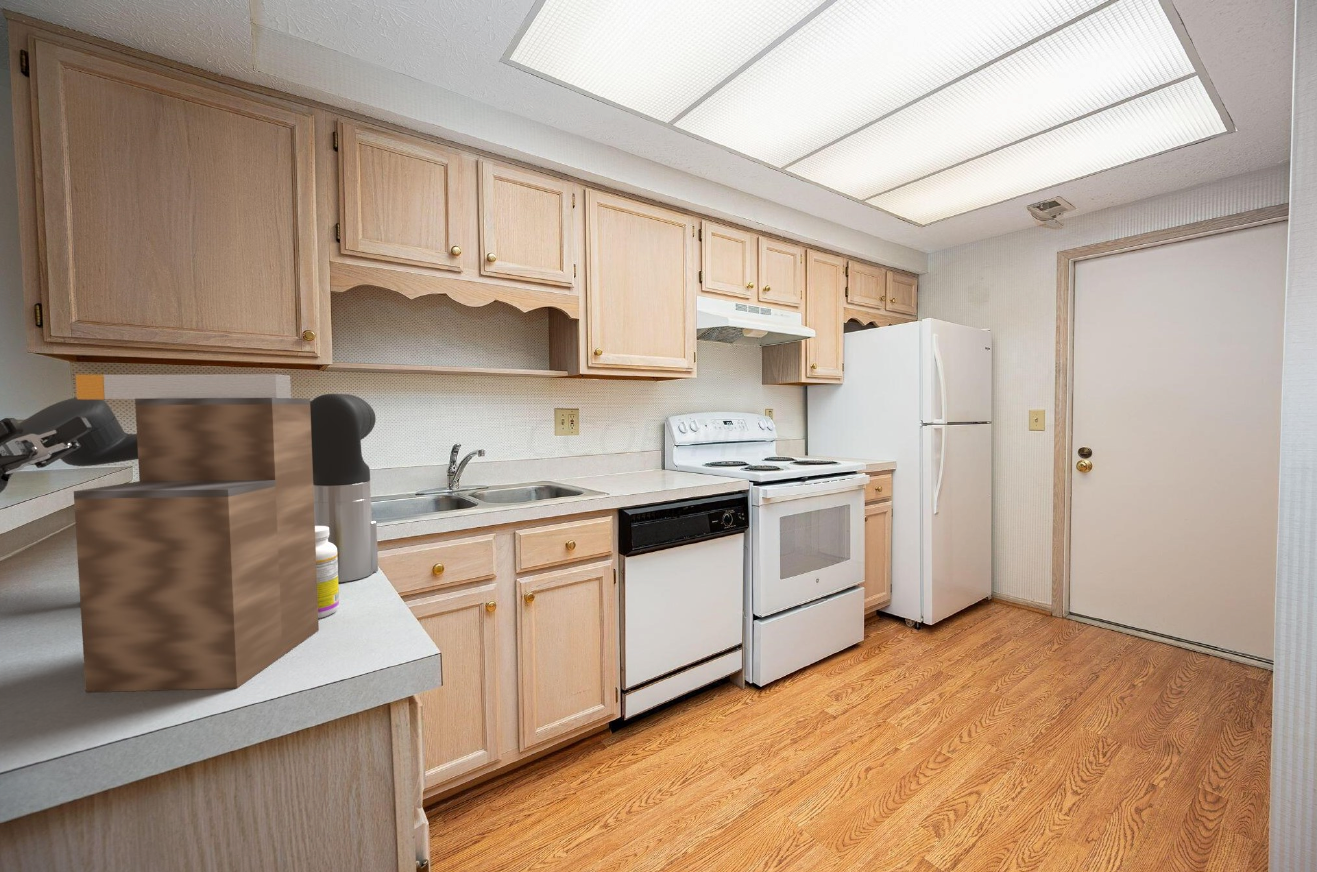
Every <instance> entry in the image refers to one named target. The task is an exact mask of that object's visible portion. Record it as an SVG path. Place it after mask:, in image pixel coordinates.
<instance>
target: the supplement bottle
mask: <svg viewBox="0 0 1317 872" xmlns="http://www.w3.org/2000/svg"><path fill="white" fill-rule="evenodd" d="M329 535H330V534H329V527H327V526H315V544H316V570H317V596H318V620H319V619H323V618H326V617H328V616H331V615H332V614H334V613H335V612H337V611H338V610H339V607H340V592H339V582H338V557H337V548H336V546H335V545H334V544H332V543H330V542H328V537H329Z"/></svg>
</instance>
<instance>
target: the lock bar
mask: <svg viewBox="0 0 1317 872" xmlns="http://www.w3.org/2000/svg"><path fill="white" fill-rule="evenodd" d="M75 384H76V386H75V387H76V388H75V389H76V397H77V399H90V400H104V401H105V400H107V401H109V400H111V401H112V400H115V401H116V400H119V401H120V400H122V401H123V400H135V399H136V398H292V392H291V391H292V390H291V388H292V384H291V375H289V374H276V373H270V374H269V373H266V374H265V373H258V374H257V373H249V374H248V373H247V374H246V373H245V374H244V373H243V374H241V373H237V374H234V373H233V374H230V373H229V374H228V373H227V374H225V373H224V374H223V373H221V374H220V373H219V374H217V373H216V374H213V373H212V374H200V373H199V374H198V373H197V374H196V373H195V374H189V373H187V374H182V373H181V374H75Z"/></svg>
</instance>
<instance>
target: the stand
mask: <svg viewBox="0 0 1317 872" xmlns="http://www.w3.org/2000/svg"><path fill="white" fill-rule="evenodd" d="M310 401H311V398H298V397H297V398H296V397H294V398H293V397H291V398H136V399H134V404H135V407H134V409H135V422H136V423H135V424H136V434H137V445H138V459H137V460H138V477H139V479H138V480H139V481H134V482H133V481H132V482H126V483H120V484H119V483H118V484H114V485H108V486H107V485H106V486H100V487H93V488H87V489H79V490H73V502H74V503H73V505H74V517H75V518H74V519H75V534H76V535H75V536H76V550H77V570H78V571H77V572H78V585H79V588H78V589H79V601H80V602H79V603H80V619H81V621H80V622H81V633H82V634H81V636H82V651H83V654H82V655H83V666H84V667H83V668H84V684H85V685H84V686H85V693H98V692H99V693H100V692H101V693H103V692H105V693H106V692H135V691H136V692H138V691H139V692H142V691H144V692H145V691H177V690H179V691H181V690H218V689H219V690H220V689H222V690H223V689H238V688H240V687H241V686H242V685H244V684H246V682H249V680H251V679H252V678H254V677H255V676H256V675H258V674H259V673H261V672H262V671H263V670H265V669H266V668H268V667H269V666H271V665H272V664H274V663H275V662H277V661H278V660H279V659H280V658H282V657H283V656H285V655H287V654H288V653H289V652H291V651H292V650H294V649H295V648H297V647H298V646H300V644H302V643H304V641H306V640H308V639H309V638H310V637H313V635H314V634H316V633H318V632H319V630H320V629H319V628H320V627H319V624H320V623H319V619H318V596H317V570H316V544H315V518H314V491H313V465H312V439H311V412H310Z"/></svg>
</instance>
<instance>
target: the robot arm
mask: <svg viewBox="0 0 1317 872" xmlns="http://www.w3.org/2000/svg"><path fill="white" fill-rule="evenodd" d="M310 412H311V439H312V465H313V491H314V518H315V526H327V527H329V534H330V535H329V537H328V542H330V543H332V544H334V545H335V546H336V548H337V557H338V583H345V582H351V581H355V580H360V579H364V578H366V577H368V576H370V575H372V574H374V573H375V572H378V571H379V558H378V557H379V556H378V553H379V552H378V530H377V528H378V526H377V521H376V520H373V518H372V497H371V495H372V493H371V469H370V467H369V465H368V464H367V463H366V462H365V460H364V457H363V454H362V443H361V442H362V440H363V439H365V438H366V437H367V436H369V435H370V433H371V432H372V431H373V429H374V428H375V425H376V422H377V421H376V420H377V419H376V414H375V411H374V408H373V407H372V406H371V405H370V404H369V403H368V402H367V401H366V400H364V399H362V398H361V397H359V396H356V395H354V394H353V395H352V394H347V393H346V394H345V393H324V394H322V395H319V396H316V397H314V399H312V400H310ZM58 460H61V461H62V462H63V463H65V464H67V465H69V466H73V467H74V466H75V467H91V466H92V467H93V466H101V465H107V464H108V465H109V464H115V463H121V462H128V461H136V460H138V445H137V433H128V432H125V431H124V429H123V427H122V425H121V424H120V422H119V420H118V419H117V417H116V415H115V413H114V412H113V410H112V409H111V407H110V406H109V404H108V402H107V401H105V400H90V399H77V396H76V397H72V398H68V399H64V400H61V401H58V402H56V403H54V404H51V405H49V406H47V407H45V408H43V409H41V410H39V411H38V412H36V413H34V414H33V415H31V416H29V417H28V418H26V419H24V420H22V421H20V422H19V421H18V420H17V419H16V418H15V417H4V418H3V419H0V494H1V493H2V492H3V491H4V490H6V487H8V484H9V480H10V478H11V477H12V476H13V474H14V473H16V472H18V471H21V470H24V469H25V467H27V466H30V465H33V464H34V465H35V467H36V468H37V469H41V468H45V467H47V466H50V464H53V463H55V462H56V461H58Z"/></svg>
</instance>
